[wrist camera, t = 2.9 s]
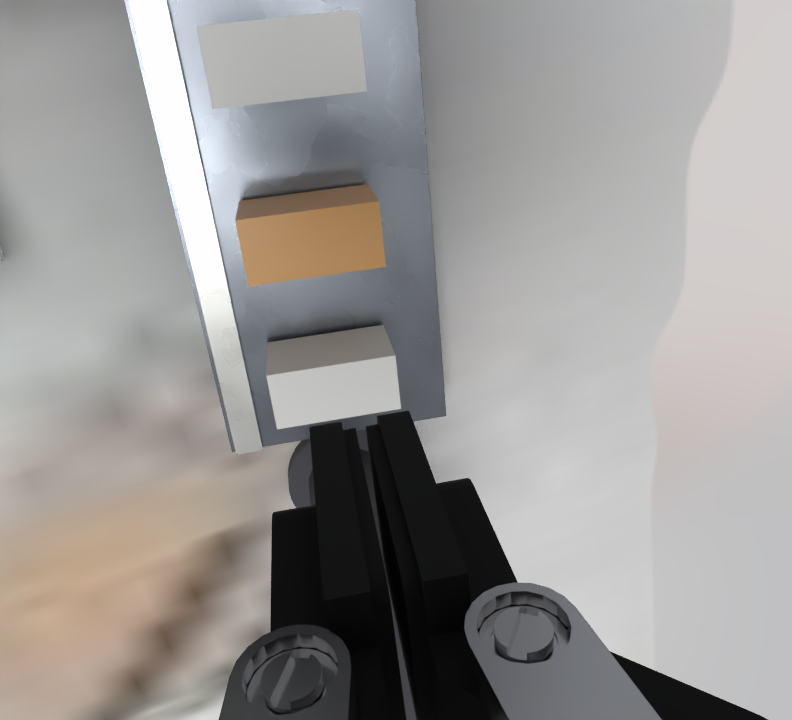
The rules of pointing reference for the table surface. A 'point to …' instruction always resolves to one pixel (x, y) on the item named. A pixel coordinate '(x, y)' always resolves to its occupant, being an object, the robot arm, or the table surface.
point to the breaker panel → (289, 174)
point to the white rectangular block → (332, 376)
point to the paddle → (283, 58)
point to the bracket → (1, 255)
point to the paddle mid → (310, 234)
